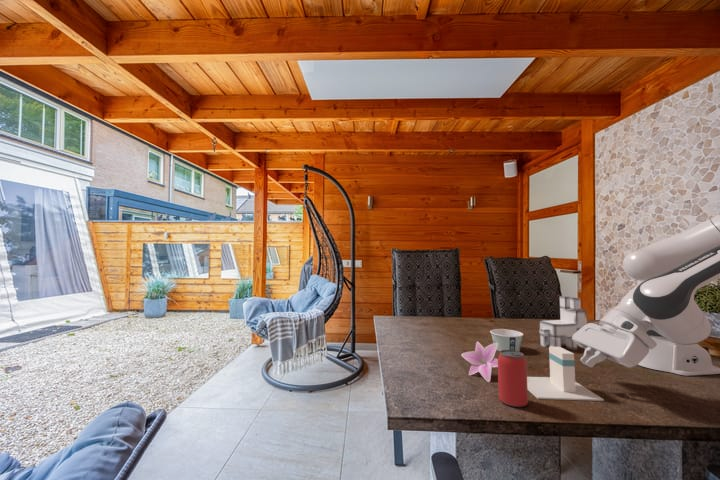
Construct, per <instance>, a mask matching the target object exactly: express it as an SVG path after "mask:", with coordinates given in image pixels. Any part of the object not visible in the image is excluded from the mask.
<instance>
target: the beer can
mask: <svg viewBox="0 0 720 480" xmlns="http://www.w3.org/2000/svg"><path fill="white" fill-rule="evenodd" d="M497 359H498V367H497V384H498V399H499V401H500V402H502V403H503V404H505V405H507V406H510V407H515V408H523V407H525V406H527V405H528V403H529V397H528V395H529V394H528V388H527V377H528V363H527V361H526V359H525V354H524V353H523V352H520V351H519V352H518V351H514V350H501V351H499V355H498V357H497Z"/></svg>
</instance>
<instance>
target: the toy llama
mask: <svg viewBox="0 0 720 480" xmlns="http://www.w3.org/2000/svg"><path fill="white" fill-rule="evenodd" d="M559 315H560V318H559V319H554V320H553V319H551V320H539V328H538V329H539V331H538V333H539V336H540V338H539V339H540V340H539V341H540V346H541V347H544V348H549V347H561V348H562V347H566V348H565V349H568V350H571V351H572V350H573V351H574V350H575V351H576V350H578V345H577V344H576V343H575V342H574V341H573V340H572V336H573V335H574V334H575V333H576V332H577V331H578V330H579V329H580V328H582V327H583V326H584V325H586V324H588V320H587V319H588V318H587V309H586V310H585V309H582V301H581V297H574V296H573V297H570V296H568V295H559Z"/></svg>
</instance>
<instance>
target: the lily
mask: <svg viewBox="0 0 720 480" xmlns="http://www.w3.org/2000/svg"><path fill="white" fill-rule="evenodd" d="M497 346H498V343H493V342H492V343H490V344H489V345H487V346H485V347H484V346H483V345H482V344H481V343H480V342H479V341H476V342H475V348H474V349H475V350H472V351H466V352H463V353H461V354H460V355H461V357H462V358H463V359H464V360H465V361H467V362H468V363H469V364H471V366H470V367H469V371H468V376H472V375H475V374H476V373H478V372H479V374H480V375H481V376H482V378H483V379H484V380H485V381H486V382H487V383H490V382H491V380H492V379H491V378H492V368H498V358H496V357H495V354H496V352H497V350H496V349H497Z"/></svg>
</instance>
